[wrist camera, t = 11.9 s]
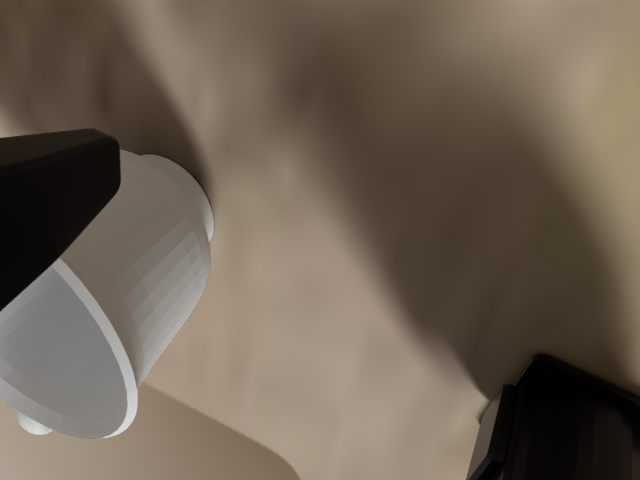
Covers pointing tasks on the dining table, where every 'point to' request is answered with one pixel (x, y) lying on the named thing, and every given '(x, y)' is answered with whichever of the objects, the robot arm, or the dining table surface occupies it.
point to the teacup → (108, 305)
